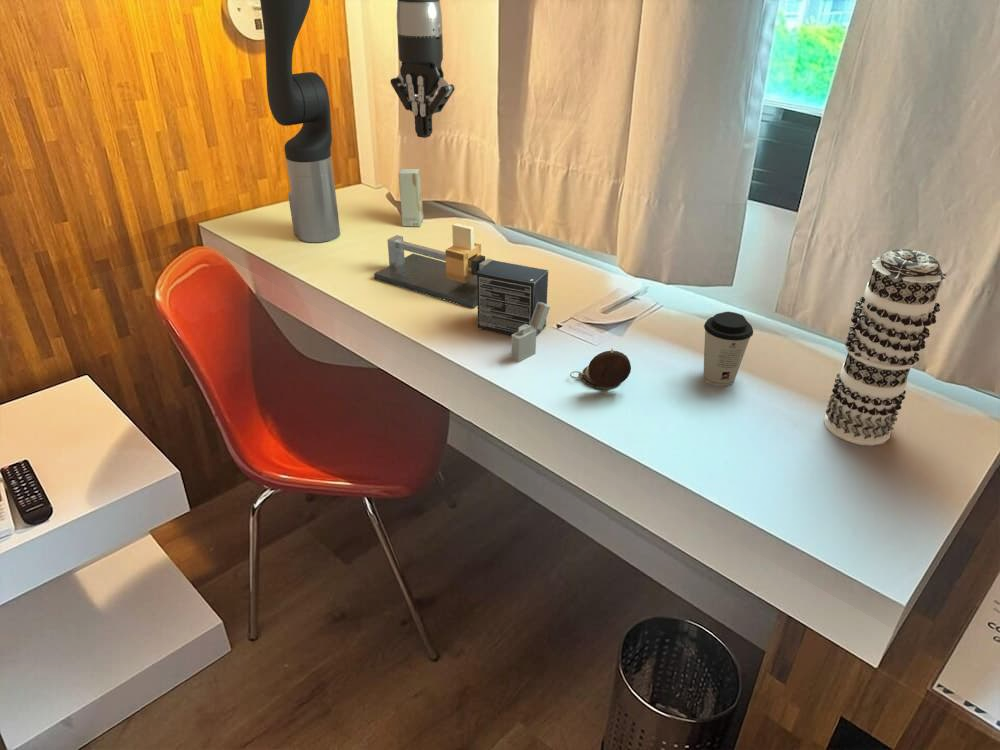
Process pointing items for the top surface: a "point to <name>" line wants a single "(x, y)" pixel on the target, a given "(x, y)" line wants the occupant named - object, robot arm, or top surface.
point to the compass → (606, 370)
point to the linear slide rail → (428, 273)
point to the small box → (509, 296)
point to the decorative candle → (884, 345)
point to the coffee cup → (725, 347)
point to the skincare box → (411, 197)
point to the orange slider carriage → (461, 253)
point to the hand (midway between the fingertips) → (424, 136)
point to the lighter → (528, 334)
